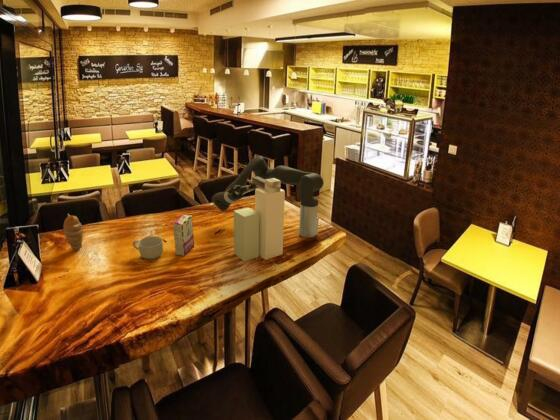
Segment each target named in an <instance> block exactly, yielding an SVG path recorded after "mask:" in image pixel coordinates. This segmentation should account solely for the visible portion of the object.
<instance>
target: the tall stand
mask: <svg viewBox="0 0 560 420" xmlns="http://www.w3.org/2000/svg"><path fill="white" fill-rule="evenodd" d="M285 193H286V191H285V190H284V189H282V188H280V192H275V193H269V192H267V191H265V189H263V188H261V187H256V189H255V190H254V196H255V197H254V199H255V200H254V211H256V212H258V213H259V257H261V258H262V259H264V260H265V261H266V260H268V259H272V258H275V257H279V256H282V255H283V254H284V253H283V252H284V251H283V250H284V249H283V248H284V229H285V227H284V226H285V225H284V224H285V198H286V197H285V195H286V194H285Z"/></svg>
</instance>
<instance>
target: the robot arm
mask: <svg viewBox="0 0 560 420" xmlns="http://www.w3.org/2000/svg"><path fill="white" fill-rule="evenodd" d="M252 172H253V174H254V175H255V177H256V176H258V177H260V178H263V179H271V178H275V179H278V180H280V181H281V184H285V185H299V186H298V187H299V188H298V189H299V190H298V191H299V193H298V194H299V196H298V197H299V201H300V205H299V206H300V209H299V226H298V228H299V229H298V235H299V236H300V237H301V238H311V239H312V238H314V237H316V236H317V235H319V234H318V230H319V219H320V218H319V217H318V211H319V199H318V198H317V197H315V196H314V193H315V192H317V191H319V190H321V189H322V188H323V187H324V179H323V177H322V175H320V174H318V173H315V172H307V171H303V170H299V169H296V168H292V167H289V166H286V165H278V166H276V167H274V168H271V167H270V166H268V163H267V162H266V160H265V158H264V157H263V156H261V155H256V156H254V157H253V158H252V159H251V160H250V161H249V162H248V163H247V164H246V166H245V167H244V168H243V170H242V171H241V172H240V173H239V175H238V176H237V177H236V178H235V180H234V181H232V182H231V183H230V184H229V185H228V186H227V187H226V188H225V190H224V191H220V192H219V191H218V192H217V193H215V194H213V196H212V197H211V201H212V202H213V204H214V205H215V206H216V208H218V209H219V210H220V211H221V212H225V211H227V210H228V209H229V207H230V206H231V204H233V203H235V202H237V201H240V200H241V199H242V198H244V195H245V194H247V193H251V192H252V191H255V189H257V185H255V184H253V183H251V184H247V181H248V180H249V177H250V175H251V173H252Z"/></svg>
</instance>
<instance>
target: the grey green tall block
mask: <svg viewBox="0 0 560 420" xmlns="http://www.w3.org/2000/svg"><path fill="white" fill-rule="evenodd" d="M233 237H234V238H233V246H234V248H233V250H234V251H233V254H234V255H235V256H236V257H238V258H239V259H240V260H242V261H243V262H246V261H250V260H252V259H256V258H259V257H260V256H259V213H258V212H256V211H255V209H252V208H250V207H245V208H244V207H243V208H239V209H235V210H233Z"/></svg>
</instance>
